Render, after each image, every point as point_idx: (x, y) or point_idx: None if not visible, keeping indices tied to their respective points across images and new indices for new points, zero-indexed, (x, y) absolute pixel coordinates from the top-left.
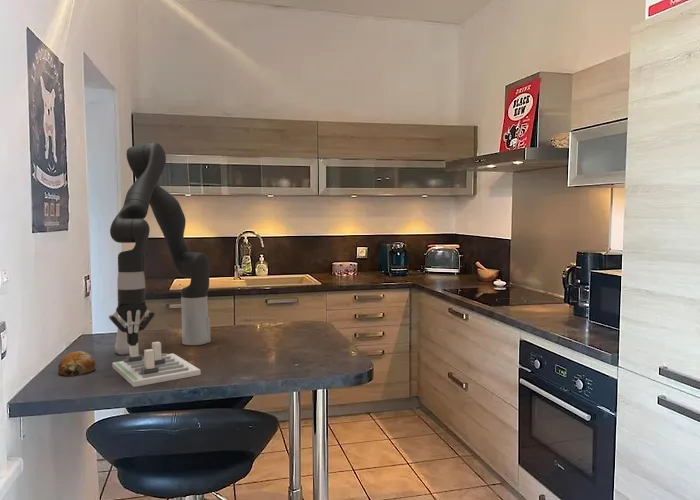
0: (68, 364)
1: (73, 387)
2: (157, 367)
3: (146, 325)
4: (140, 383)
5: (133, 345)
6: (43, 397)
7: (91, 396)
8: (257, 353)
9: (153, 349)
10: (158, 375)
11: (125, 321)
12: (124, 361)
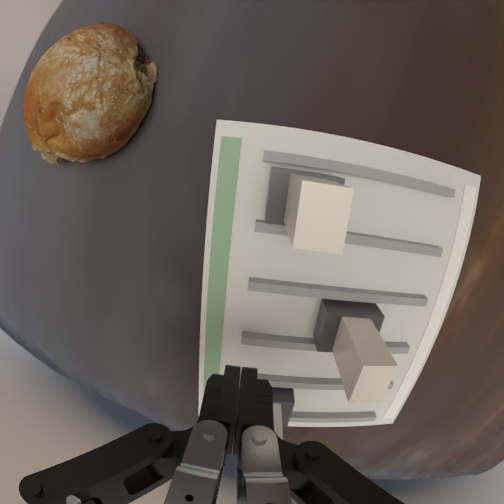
0: (33, 149)
1: (59, 292)
2: (285, 424)
3: (326, 496)
4: None
5: (238, 393)
6: (14, 316)
7: (98, 390)
8: None
9: (346, 368)
10: None
11: (173, 494)
12: (263, 160)
